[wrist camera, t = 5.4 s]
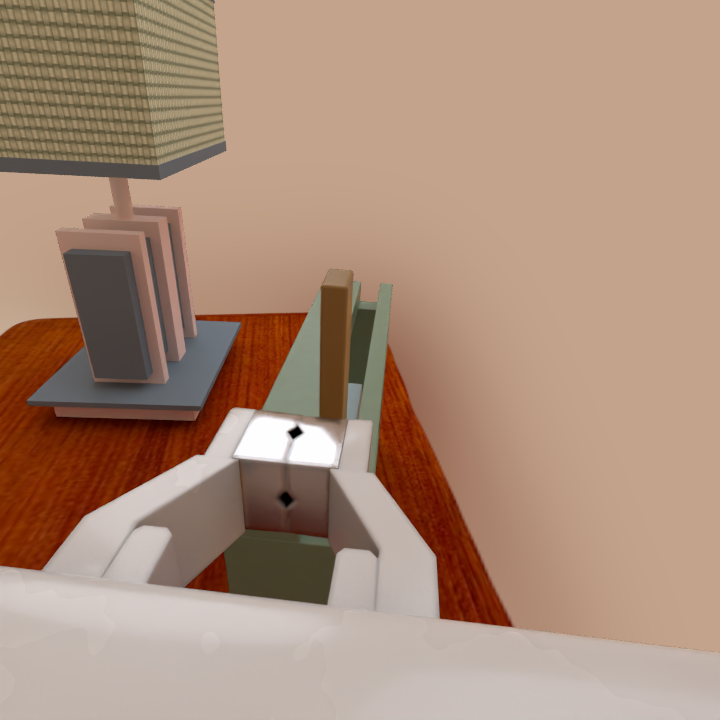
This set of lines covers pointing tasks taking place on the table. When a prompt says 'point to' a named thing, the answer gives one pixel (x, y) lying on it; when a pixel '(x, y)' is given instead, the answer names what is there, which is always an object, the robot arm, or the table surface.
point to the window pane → (337, 348)
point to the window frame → (301, 396)
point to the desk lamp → (120, 188)
